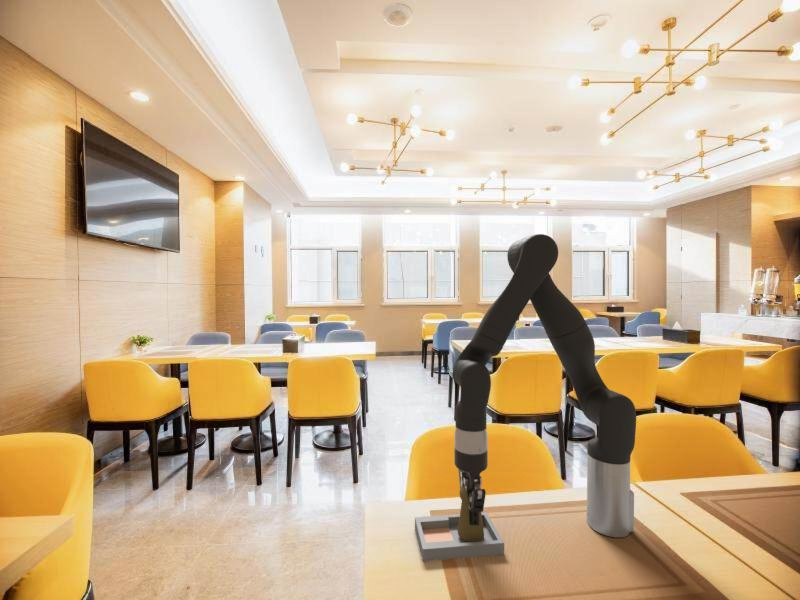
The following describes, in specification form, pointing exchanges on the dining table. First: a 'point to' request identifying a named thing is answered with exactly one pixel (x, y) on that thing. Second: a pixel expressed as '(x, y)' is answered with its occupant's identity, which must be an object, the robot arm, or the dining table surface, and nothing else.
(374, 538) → the dining table surface
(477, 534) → the olive pawn piece
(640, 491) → the dining table surface
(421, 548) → the grey shallow tray
